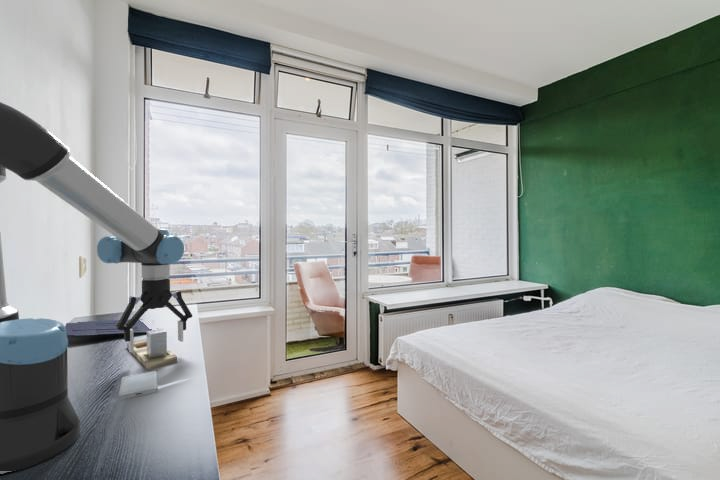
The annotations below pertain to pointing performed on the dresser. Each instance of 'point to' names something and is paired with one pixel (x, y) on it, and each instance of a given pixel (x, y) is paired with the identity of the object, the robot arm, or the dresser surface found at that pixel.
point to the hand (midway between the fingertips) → (157, 345)
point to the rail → (141, 355)
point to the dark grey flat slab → (101, 327)
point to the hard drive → (138, 385)
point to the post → (156, 344)
